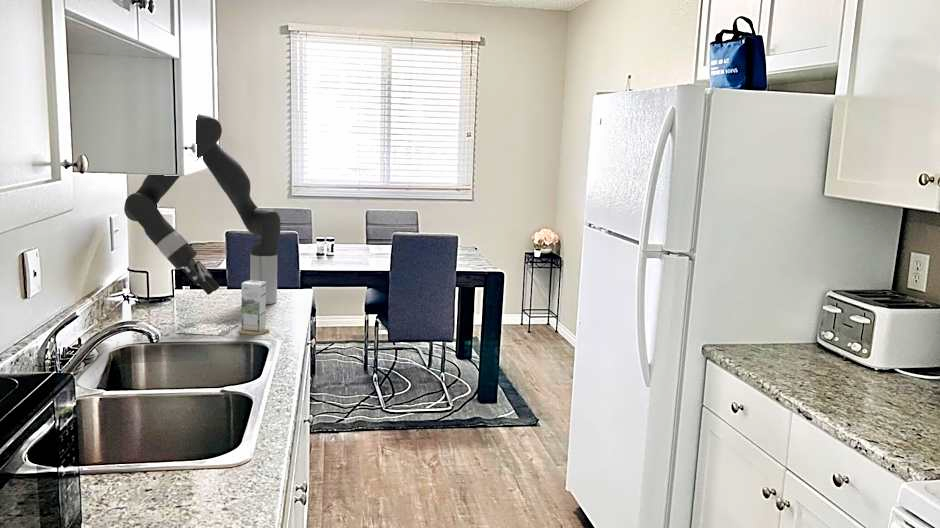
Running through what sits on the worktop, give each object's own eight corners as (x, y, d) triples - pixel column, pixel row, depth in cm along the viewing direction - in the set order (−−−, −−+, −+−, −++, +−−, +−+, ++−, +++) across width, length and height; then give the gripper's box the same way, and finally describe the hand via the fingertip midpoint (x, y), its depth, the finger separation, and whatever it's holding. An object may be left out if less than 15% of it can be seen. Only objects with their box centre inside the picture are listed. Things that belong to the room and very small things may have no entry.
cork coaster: (243, 327, 225) (243, 325, 225) (272, 328, 226) (272, 326, 226) (234, 334, 217) (234, 332, 216) (265, 335, 217) (265, 333, 217)
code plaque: (192, 322, 228) (192, 322, 227) (237, 324, 228) (237, 324, 228) (174, 333, 214) (174, 333, 214) (223, 335, 214) (223, 335, 214)
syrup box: (266, 327, 224) (266, 280, 222) (259, 332, 218) (259, 284, 216) (247, 326, 224) (248, 279, 222) (240, 330, 218) (240, 282, 216)
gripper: (180, 243, 211) (219, 285, 213) (192, 240, 225) (228, 280, 227) (160, 260, 210) (199, 302, 213) (172, 256, 224) (209, 296, 227)
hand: (214, 291), depth 220 cm, fingers open, 8 cm apart
